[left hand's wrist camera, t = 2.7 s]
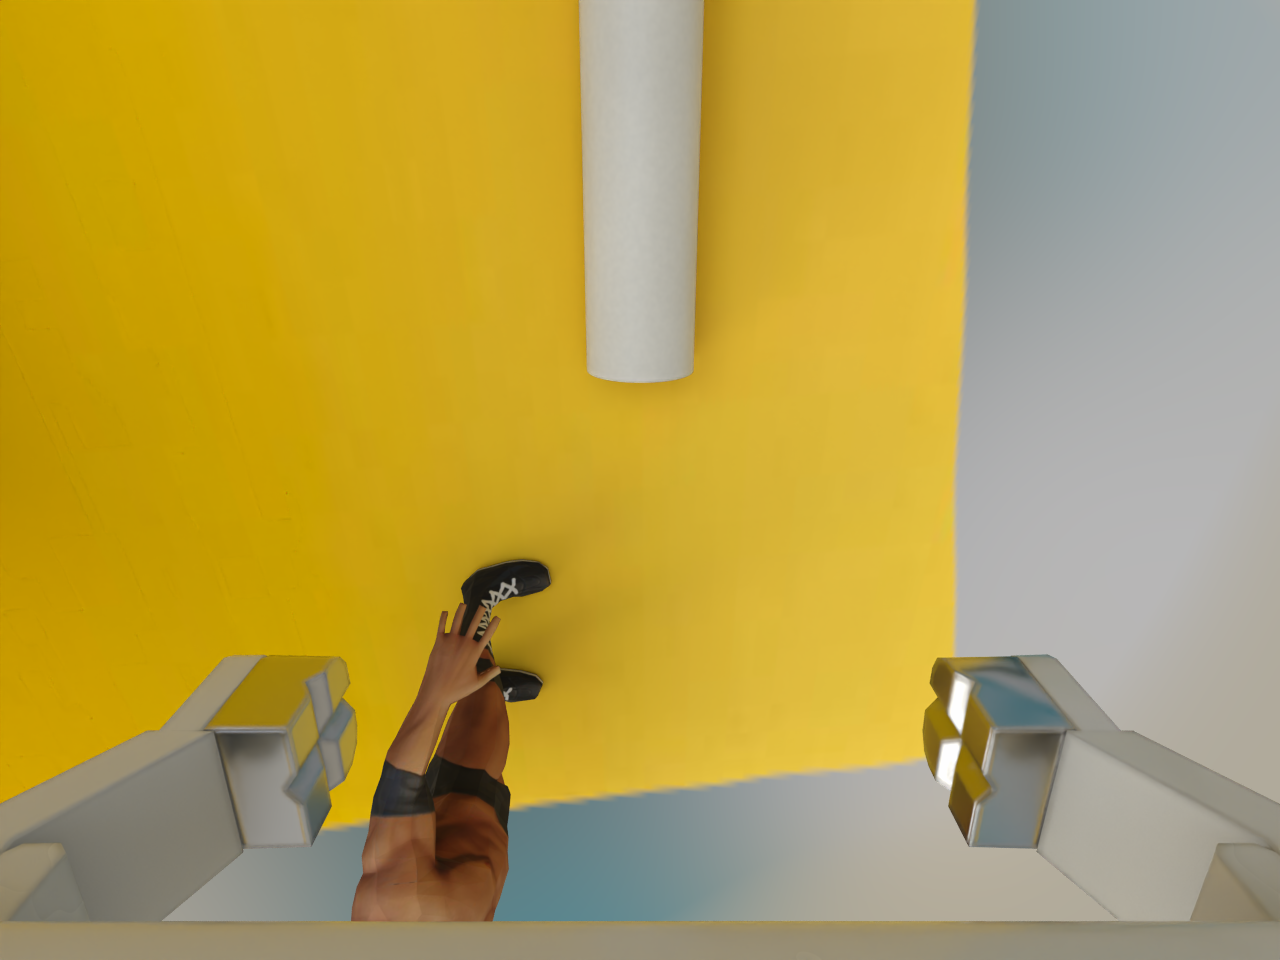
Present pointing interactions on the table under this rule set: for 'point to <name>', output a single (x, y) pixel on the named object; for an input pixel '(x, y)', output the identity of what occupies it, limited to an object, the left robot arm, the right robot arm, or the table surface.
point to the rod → (640, 184)
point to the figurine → (450, 771)
